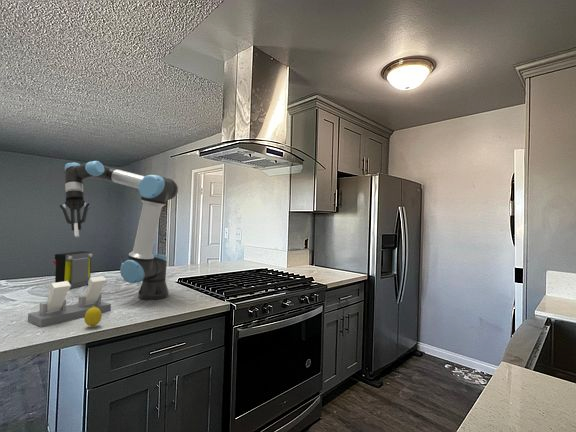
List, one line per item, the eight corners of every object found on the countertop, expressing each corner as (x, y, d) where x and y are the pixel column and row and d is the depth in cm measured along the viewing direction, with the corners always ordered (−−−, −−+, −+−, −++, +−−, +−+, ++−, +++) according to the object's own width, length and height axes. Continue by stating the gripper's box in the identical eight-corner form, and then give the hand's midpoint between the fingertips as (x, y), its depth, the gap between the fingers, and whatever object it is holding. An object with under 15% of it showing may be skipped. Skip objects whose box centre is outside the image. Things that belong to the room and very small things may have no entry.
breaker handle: (80, 301, 132) (89, 277, 129) (94, 298, 137) (103, 275, 134) (83, 306, 131) (92, 282, 128) (97, 303, 136) (106, 280, 133)
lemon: (89, 324, 118) (90, 304, 118) (103, 324, 118) (104, 304, 119) (80, 329, 113) (81, 308, 113) (96, 329, 113) (97, 308, 113)
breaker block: (27, 320, 119) (28, 302, 120) (96, 306, 142) (97, 290, 142) (40, 327, 113) (41, 307, 114) (110, 310, 136) (111, 294, 136)
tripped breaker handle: (42, 309, 120) (51, 283, 117) (58, 305, 125) (67, 280, 122) (45, 314, 119) (54, 287, 116) (61, 310, 124) (70, 285, 120)
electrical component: (66, 290, 168) (68, 255, 169) (52, 289, 170) (53, 254, 171) (92, 284, 186) (94, 252, 186) (79, 282, 188) (80, 251, 188)
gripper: (90, 194, 160) (93, 236, 155) (61, 195, 155) (63, 239, 150) (88, 188, 154) (91, 233, 149) (57, 190, 148) (58, 236, 143)
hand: (76, 236), depth 149 cm, fingers closed
